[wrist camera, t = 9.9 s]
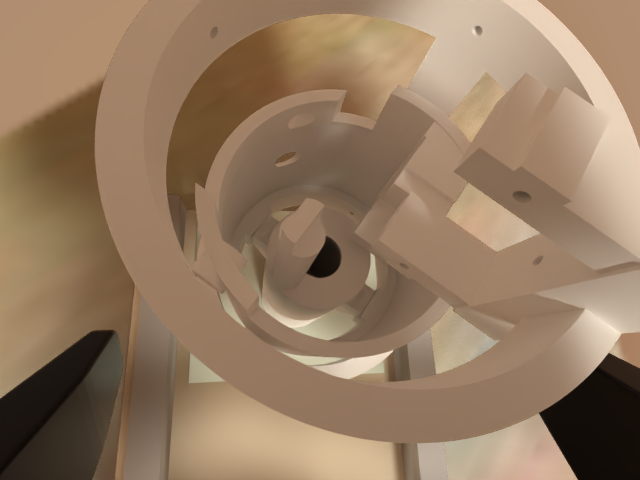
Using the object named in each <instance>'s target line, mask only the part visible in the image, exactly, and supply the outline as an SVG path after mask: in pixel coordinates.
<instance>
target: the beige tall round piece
mask: <svg viewBox="0 0 640 480" xmlns="http://www.w3.org/2000/svg"><path fill="white" fill-rule="evenodd" d="M320 14H356V15H365V16H372V17H377V18H382V19H387V20H391V21H394V22H398V23H401V24H404V25H407V26H410V27H413V28H416V29H418V30H421V31H423V32H425V33H427V34H430V35H432V36H434V37H436V39H435V41H434V42H433V44H432V46H431V48H430V49H429V51H428V53H427V55H426V56H425V58H424V60H423V62H422V63H421V65H420V67H419V69H418V70H417V72H416V74H415V76H414V77H413V79H412V81H411V83H410V84H409V86H408V88H405V87H403V86H401V85H398V86H397V87H396V88H395V89H394V91H393V92H392V93H391V95H390V97H389V99H388V101H387V103H386V105H385V106H384V108H383V110H382V112H381V114H380V116H379V118H378V120H377V121H375V120H372V119H370V118H367V117H363V116H360V115H356V114H351V113H345V112H340V110H341V107H342V104H343V102H344V99H345V96H346V93H347V90H338V89H324V90H312V91H306V92H301V93H297V94H293V95H289V96H286V97H283V98H281V99H278V100H276V101H274V102H272V103H270V104H268V105H266V106H264V107H262V108H261V109H259V110H257V111H256V112H254V113H253V114H252V115H250V116H249V117H248V118H247V119H245V120H244V121H243V122H242V123H241V124H240V125H239V126H238V127H237V128H236V129H235V130H234V131H233V132H232V133H231V134H230V136H229V137H228V138H227V139H226V141H225V142H224V144H223V145H222V147H221V148H220V150H219V152H218V153H217V155H216V157H215V159H214V161H213V164H212V166H211V169H210V171H209V174H208V177H207V181H206V185H205V189H204V188H203V187H201V186H200V185H199V184H197V183H195V205H196V214H197V220H198V225H199V229H200V233H201V239H200V243H199V247H198V253H197V260H196V261H195V262H194V263H193V265H192V266H191V267H190V265H189V264H188V262H187V260H186V258H185V256H184V253H183V251H182V249H181V247H180V244H179V242H178V239H177V236H176V233H175V230H174V227H173V223H172V219H171V215H170V210H169V205H168V198H167V188H166V164H167V154H168V148H169V142H170V138H171V134H172V130H173V127H174V124H175V121H176V118H177V116H178V113H179V111H180V109H181V106H182V104H183V102H184V101H185V99H186V97H187V95H188V93H189V92H190V90H191V89H192V87H193V86H194V84H195V83H196V81H197V80H198V79H199V77H200V76H201V75H202V74H203V72H204V71H205V70H206V69H207V68H208V67H209V66H210V65H211V64H212V63H213V62H214V61H215V60H216V59H217V58H218V57H219V56H220V55H221V54H223V53H224V52H225V51H226V50H228V49H229V48H230V47H232V46H233V45H235V44H236V43H238V42H239V41H241V40H242V39H244V38H246V37H247V36H249V35H251V34H253V33H255V32H257V31H259V30H261V29H264V28H266V27H268V26H271V25H274V24H277V23H280V22H283V21H286V20H290V19H294V18H299V17H304V16H311V15H320ZM485 72H487V73H488V74H489V75H490V76H491V77H492V78H493V79H494V80H495V81H496V82H497V83H498V84H499V85H500V86H501V87H502V88H503V89H504V91H505V92H506V94H505V95H504V96H503V97H502V98H501V99H500V100H499V101H498V102H497V103H496V105H495V107H494V108H493V110H492V111H491V113H490V114H489V116H488V118H487V119H486V121H485V122H484V124H483V125H482V127H481V129H480V130H479V132H478V133H477V135H476V136H475V138H474V140H473V141H472V143H470V141H469V140H468V139H467V137H466V136H465V135H464V134H463V132H462V131H461V130H460V129H459V128H458V127H457V125H456V124H455V123H454V122H453V121H452V120H451V119H450V118H449V116H450V115H451V114H452V113H453V111H454V110H455V109H456V108H457V107H458V105H459V104H460V103H461V102H462V100H463V99H464V98H465V97H466V95H467V94H468V93H469V92H470V91H471V89H472V88H473V87H474V86H475V84H476V83H477V82H478V81H479V80H480V78H481V77H482V76H483V75H484V73H485ZM292 152H296V154H295V155H294V156H293V157H291V158H290V159H288V160H286V161H283V162H280V163H276V161H277V160H278V159H279V158H280V157H281V156H283V155H285V154H288V153H292ZM275 163H276V164H275ZM95 165H96V175H97V182H98V188H99V194H100V198H101V203H102V207H103V211H104V214H105V218H106V221H107V224H108V227H109V230H110V233H111V236H112V238H113V241H114V243H115V246H116V248H117V250H118V253H119V255H120V257H121V259H122V261H123V263H124V265H125V267H126V269H127V271H128V273H129V275H130V276H131V278H132V280H133V282H134V283H135V285H136V287H137V288H138V290H139V291H140V293H141V294H142V296H143V297H144V299H145V300H146V302H147V303H148V305H149V306H150V307H151V309H152V310H153V311H154V313H155V314H156V315H157V317H158V318H159V319H160V320H161V321H162V323H163V324H164V325H165V326H166V327H167V329H168V330H169V331H170V332H171V333H172V334H173V335H174V336H175V337H176V339H177V340H178V341H179V342H180V343H181V344H182V345H183V346H184V347H185V348H186V349H187V350H188V351H189V352H191V353H192V354H193V355H194V356H195V357H196V358H197V359H198V360H199V361H201V362H202V363H203V364H204V365H205V366H206V367H208V368H209V369H210V370H211V371H213V372H214V373H215V374H217V375H218V376H219V377H221V378H222V379H223V380H225V381H226V382H227V383H229V384H230V385H232V386H233V387H235V388H236V389H238V390H239V391H241V392H242V393H244V394H246V395H247V396H249V397H251V398H252V399H254V400H256V401H258V402H259V403H261V404H263V405H265V406H267V407H269V408H271V409H273V410H275V411H277V412H279V413H281V414H283V415H286V416H288V417H290V418H293V419H295V420H298V421H300V422H303V423H305V424H308V425H311V426H314V427H317V428H320V429H323V430H327V431H330V432H334V433H337V434H341V435H346V436H350V437H355V438H360V439H366V440H373V441H381V442H392V443H437V442H447V441H455V440H461V439H466V438H471V437H476V436H480V435H484V434H488V433H491V432H495V431H498V430H501V429H504V428H506V427H509V426H512V425H514V424H517V423H519V422H521V421H523V420H526V419H528V418H530V417H532V416H534V415H536V414H538V413H539V412H541V411H543V410H545V409H546V408H548V407H550V406H551V405H553V404H554V403H556V402H557V401H559V400H560V399H562V398H563V397H564V396H566V395H567V394H568V393H570V392H571V391H572V390H573V389H575V388H576V387H577V386H578V385H579V384H580V383H582V382H583V381H584V380H585V379H586V378H587V377H588V376H589V375H590V374H591V373H592V372H593V371H594V370H595V369H596V367H597V366H598V365H599V364H600V363H601V362H602V361H603V359H604V358H605V357H606V356H607V354H608V353H609V352H610V350H611V349H612V347H613V346H614V344H615V343H616V341H617V340H618V338H619V337H620V335H621V333H633V332H640V149H639V146H638V143H637V140H636V137H635V134H634V132H633V129H632V126H631V124H630V122H629V119H628V117H627V115H626V113H625V110H624V108H623V106H622V104H621V102H620V101H619V99H618V97H617V95H616V93H615V91H614V90H613V88H612V86H611V84H610V83H609V81H608V80H607V78H606V77H605V75H604V73H603V72H602V70H601V69H600V67H599V66H598V65H597V64H596V62H595V61H594V59H593V58H592V57H591V55H590V54H589V53H588V51H587V50H586V49H585V48H584V46H583V45H582V44H581V43H580V42H579V41H578V39H577V38H576V37H575V36H574V35H573V34H572V33H571V32H570V31H569V30H568V29H567V27H566V26H565V25H564V24H563V23H562V22H561V21H560V20H559V19H557V18H556V17H555V16H554V15H553V14H552V13H551V12H550V11H549V10H548V9H547V8H545V7H544V6H543V5H542V4H541V3H540V2H538V1H537V0H150V1H149V2H148V3H147V4H146V5H145V6H144V8H143V9H142V10H141V11H140V12H139V14H138V15H137V16H136V18H135V19H134V21H133V22H132V24H131V25H130V26H129V28H128V30H127V31H126V33H125V34H124V36H123V38H122V40H121V42H120V44H119V45H118V47H117V49H116V52H115V54H114V56H113V58H112V60H111V63H110V65H109V68H108V71H107V74H106V77H105V80H104V83H103V87H102V90H101V95H100V99H99V104H98V110H97V117H96V127H95ZM468 183H470V184H472V185H473V186H474V187H476V188H477V189H479V190H480V191H482V192H483V193H484V194H486V195H487V196H489V197H490V198H492V199H493V200H494V201H496V202H497V203H499V204H500V205H502V206H503V207H504V208H506V209H507V210H509V211H510V212H512V213H513V214H514V215H516V216H517V217H519V218H520V219H522V220H523V221H524V222H526V223H527V224H529V225H530V226H532V227H533V228H534V229H536V230H537V231H539V232H540V233H541V234H538V235H536V236H534V237H531V238H529V239H527V240H524V241H522V242H519V243H517V244H515V245H512V246H510V247H508V248H505V249H503V250H500V251H498V252H496V251H494V250H493V249H491V248H490V247H489V246H487V245H486V244H484V243H483V242H481V241H480V240H479V239H477V238H476V237H474V236H473V235H472V234H470V233H469V232H467V231H466V230H465V229H463V228H462V227H460V226H459V225H457V224H456V223H455V222H453V221H452V220H450V219H449V218H448V217H446V215H447V213H448V212H449V210H450V208H451V207H452V205H453V204H454V203H455V202H456V201H457V199H458V198H459V196H460V194H461V193H462V191H463V190H464V188H465V186H466V185H467V184H468ZM293 206H300V207H299V208H298V209H297V210H296V211H294V212H292V213H291V214H289V215H287V216H286V217H285V218H284V219H282V220H281V221H280V222H279V221H278V220H276V219H275V218H274V217H272V216H271V215H272V214H274V213H275V212H278V211H280V210H282V209H285V208H289V207H293ZM245 243H247V244H248V245H249V246H252V244H254V245H255V246H256V247H257V249H258V250H259V251H260V252H261V253H262V255H263V256H264V257H265V258H266V262H265V271H264V277H263V288H262V302H263V306H264V308H265V311H264V310H263V309H262V308H261V307H260V306H259V294H258V293H257V292H256V291H255V290H254V289H253V288H252V287H251V286H250V284H249V283H248V282H247V281H246V280H245V278H244V277H243V276H242V274H241V273H240V272H241V270H242V269H243V268H244V267H245V265H246V264H247V263H248V262H247V260H246V259H245V258H244V257H243V255H242V254H241V253H242V250H243V247H244V245H245ZM370 253H371V254H373V255H374V256H375V259H376V264H377V273H378V278H377V288H376V290H373V289H372V288H370V287H369V286H368V285H366V284H365V282H366V280H367V277H368V275H369V271H370V265H371V255H370ZM307 271H308V272H310V273H311V274H312V275H313V276H314V277H313V276H310V275H308V274H307V273H306V272H307ZM195 275H196V276H197V277H196V276H195ZM224 291H226V293H227V295H228V297H229V299H230V301H231V304H232V306H233V308H234V310H235V312H236V314H237V315H238V317H239V318H240V320H241V321H242V323H243V324H244V325H245V326H246V327H243V326H242V325H241V324H239V323H238V322H237V321H236V320H235V319H234V318H232V317H231V316H230V315H229V314H228V313H227V312H226V311H225V310H224V307H223V304H222V302H221V298H220V294H219V292H220V293H221V294H223V293H224ZM450 305H451V306H452V307H454V309H453V311H454V312H456V313H457V314H458V315H460V316H461V317H463V318H464V319H465V320H467V321H468V322H470V323H471V324H472V325H474V326H475V327H477V328H478V329H479V330H481V331H482V332H484V333H485V334H486V335H488V336H489V337H491V338H492V339H493V340H501V341H499V342H498V343H497V344H496V345H494V346H493V347H492V348H491V349H489V350H488V351H486V352H485V353H483V354H482V355H480V356H478V357H477V358H475V359H473V360H471V361H470V362H468V363H466V364H463V365H461V366H459V367H457V368H454V369H452V370H449V371H446V372H443V373H440V374H437V375H433V376H429V377H425V378H420V379H414V380H407V381H395V382H381V383H372V382H362V381H355V380H350V378H353V377H356V376H358V375H360V374H362V373H364V372H366V371H368V370H370V369H371V368H373V367H375V366H376V365H377V364H379V363H380V362H382V361H383V360H384V359H385V358H386V357H387V356H389V355H390V354H391V353H392V352H393V351H394V350H395V349H397V348H400V347H402V346H404V345H406V344H408V343H410V342H412V341H413V340H415V339H416V338H418V337H420V336H421V335H422V334H424V333H425V332H426V331H428V330H429V329H430V328H431V327H432V326H433V325H434V324H435V323H436V322H437V321H438V320H439V319H440V318H441V317H442V316H443V315H444V314H445V312H446V311H447V310H448V308H449V307H450ZM334 309H335V310H338V311H341V312H343V313H346V314H348V315H351V316H354V317H353V319H352V321H354V322H355V323H357V324H356V325H355V326H354V327H353V328H352V329H350V330H349V331H348V332H346V333H344V334H343V335H341V336H339V337H336V338H334V339H331V340H323V339H319V338H315V337H311V336H308V335H305V334H303V333H300V332H298V331H296V330H293V329H291V328H297V327H302V326H305V325H308V324H309V323H311V322H313V321H314V320H316V319H318V318H320V317H322V316H324V315H325V314H327V313H328V312H330V311H332V310H334ZM289 327H291V328H289ZM276 349H277V350H276ZM278 350H279V351H278ZM280 351H282V352H285V353H288V354H293V355H299V356H313V357H334V358H343V359H341V360H338V361H335V362H331V363H327V364H321V365H305V364H303V363H301V362H299V361H297V360H295V359H293V358H291V357H289V356H287V355H285V354H283V353H282V352H280Z"/></svg>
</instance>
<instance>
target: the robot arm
mask: <svg viewBox="0 0 640 480" xmlns="http://www.w3.org/2000/svg"><path fill="white" fill-rule="evenodd" d="M122 370H123V359H122V354H121V348H120V343H119V338H118V335H117V333H116V331H114V330H96V331H92V332H90V333H88V334H87V335H86V336H84V337H83V338H82V339H80V340H79V341H77V342H76V343H75V344H73V345H72V346H71V347H69V348H68V349H67V350H65V351H64V352H63V353H61V354H60V355H59V356H57V357H56V358H54V359H53V360H52V361H50V362H49V363H48V364H46V365H45V366H44V367H42V368H41V369H40V370H38V371H37V372H36V373H34V374H33V375H31V376H30V377H29V378H27V379H26V380H25V381H23V382H22V383H21V384H19V385H18V386H17V387H15V388H14V389H13V390H11V391H10V392H8V393H7V394H6V395H4V396H3V397H2V398H0V480H92V478H93V476H94V473H95V470H96V467H97V465H98V462H99V459H100V456H101V453H102V450H103V447H104V443H105V439H106V436H107V432H108V428H109V423H110V419H111V415H112V411H113V407H114V403H115V399H116V395H117V391H118V387H119V383H120V379H121V375H122ZM539 414H540V416H541V418H542V420H543V421H544V423H545V425H546V427H547V428H548V430H549V432H550V433H551V435H552V437H553V438H554V440H555V442H556V443H557V445H558V447H559V449H560V450H561V452H562V454H563V455H564V457H565V459H566V460H567V462H568V464H569V465H570V467H571V469H572V471H573V472H574V474H575V476H576V477H577V479H578V480H640V368H638V367H636V366H633V365H632V364H630V363H628V362H626V361H624V360H622V359H620V358H618V357H616V356H614V355H612V354H610V353H608V354H607V356H606V357H605V358H604V359H603V361H602V362H601V363H600V364H599V365H598V366H597V367H596V369H595V370H594V371H593V372H592V373H591V374H590V375H589V376H588V377H587V378H586V379H585V380H584V381H583V382H582V383H580V384H579V385H578V386H577V387H576V388H575V389H573V390H572V391H571V392H570V393H568V394H567V395H566V396H564V397H563V398H562V399H560V400H559V401H557V402H556V403H554V404H553V405H551V406H550V407H548V408H546V409H545V410H543V411H541V412H539Z"/></svg>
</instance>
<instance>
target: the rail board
mask: <svg viewBox="0 0 640 480" xmlns="http://www.w3.org/2000/svg"><path fill="white" fill-rule="evenodd" d="M167 198H168V205H169V210H170V215H171V219H172V223H173V227H174V230H175V233H176V236H177V239H178V242H179V244H180V247H181V249H182V251H183V253H184V256H185V258H186V260H187V262H188V264H189V265H190V267H191V266H192V265H193V263H194V262H195V261H196V260H197V253H198V247H199V243H200V239H201V233H200V229H199V225H198V220H197V214H196V210H186V208H185V205H184V203H183V201H182V198H181V196H180V195H171V194H167ZM292 212H294V211H278V212H275V213H274V214H272V215H271V216H272V217H274V218H275V219H276V220H278V221H279V222H280V221H281V220H282V219H284V218H285V217H286V216H287V215H289V214H291V213H292ZM241 254H242V255H243V257H244V258H245V259H246V260H247V262H248V263H247V264H246V265H245V267H244V268H243V269H242V270H241V272H240V273H241V274H242V276H243V277H244V278H245V280H246V281H247V282H248V283H249V284H250V286H251V287H252V288H253V289H254V290H255V291H256V292H257V293H258V294H259V306H260V307H261V308H262V309H263V310H264V311H265V308H264V306H263V302H262V288H263V277H264V271H265V262H266V258H265V257H264V256H263V255H262V253H261V252H260V251H259V250H258V249H257V247H256V246H255V245H254V244H252V246H249V245H248V244H247V243H245V245H244V247H243V250H242V253H241ZM370 255H371V265H370V271H369V275H368V277H367V280H366V282H365V284H366V285H368V286H369V287H370V288H372V289H373V290H376V288H377V278H378V273H377V264H376V259H375V256H374V255H373V254H371V253H370ZM306 273H307V274H308V275H310V276H313V275H312V274H311V273H310V272H308V271H307V272H306ZM195 276H196V275H195ZM196 277H197V276H196ZM313 277H314V276H313ZM219 294H220V298H221V302H222V304H223V307H224V310H225V311H226V312H227V313H228V314H229V315H230V316H231V317H232V318H234V319H235V320H236V321H237V322H238V323H239V324H241V325H242V326H243V327H246V326H245V325H244V324H243V323H242V321H241V320H240V318H239V317H238V315H237V314H236V312H235V310H234V308H233V306H232V304H231V301H230V299H229V297H228V295H227V293H226V291H224V293H223V294H221V293H220V292H219ZM353 317H354V316H351V315H348V314H346V313H343V312H341V311H338V310H335V309H334V310H332V311H330V312H328V313H327V314H325V315H324V316H322V317H320V318H318V319H316V320H314V321H313V322H311V323H309V324H308V325H305V326H302V327H297V328H291V327H289V328H291V329H293V330H296V331H298V332H300V333H303V334H305V335H308V336H311V337H315V338H319V339H323V340H331V339H334V338H336V337H339V336H341V335H343V334H344V333H346V332H348V331H349V330H350V329H352V328H353V327H354V326H355V325H356V324H357V323H355V322H354V321H352V319H353ZM276 350H277V349H276ZM278 351H279V350H278ZM280 352H282V351H280ZM282 353H283V354H285V355H287V356H289V357H291V358H293V359H295V360H297V361H299V362H301V363H303V364H305V365H321V364H327V363H331V362H335V361H338V360H341V359H343V358H334V357H313V356H299V355H293V354H288V353H285V352H282ZM433 375H436V370H435V362H434V354H433V345H432V337H431V329H429V330H428V331H426V332H425V333H424V334H422V335H421V336H420V337H418V338H416V339H415V340H413V341H412V342H410V343H408V344H406V345H404V346H402V347H400V348H397V349H395V350H394V351H393V352H392V353H391V354H390V355H389V356H387V357H386V358H385V359H384V360H383V361H382V362H380V363H379V364H377V365H376V366H375V367H373V368H371V369H370V370H368V371H366V372H364V373H362V374H360V375H358V376H356V377H353V378H350V380H355V381H362V382H372V383H381V382H395V381H407V380H414V379H420V378H425V377H429V376H433ZM115 480H449V479H448V471H447V462H446V454H445V446H444V442H437V443H392V442H381V441H373V440H366V439H360V438H355V437H350V436H346V435H341V434H337V433H334V432H330V431H327V430H323V429H320V428H317V427H314V426H311V425H308V424H305V423H303V422H300V421H298V420H295V419H293V418H290V417H288V416H286V415H283V414H281V413H279V412H277V411H275V410H273V409H271V408H269V407H267V406H265V405H263V404H261V403H259V402H258V401H256V400H254V399H252V398H251V397H249V396H247V395H246V394H244V393H242V392H241V391H239V390H238V389H236V388H235V387H233V386H232V385H230V384H229V383H227V382H226V381H225V380H223V379H222V378H221V377H219V376H218V375H217V374H215V373H214V372H213V371H211V370H210V369H209V368H208V367H206V366H205V365H204V364H203V363H202V362H201V361H199V360H198V359H197V358H196V357H195V356H194V355H193V354H192V353H191V352H189V351H188V350H187V349H186V348H185V347H184V346H183V345H182V344H181V343H180V342H179V341H178V340H177V339H176V337H175V336H174V335H173V334H172V333H171V332H170V331H169V330H168V329H167V327H166V326H165V325H164V324H163V323H162V321H161V320H160V319H159V318H158V317H157V315H156V314H155V313H154V311H153V310H152V309H151V307H150V306H149V305H148V303H147V302H146V300H145V299H144V297H143V296H142V294H141V293H140V291H139V290H138V288H137V287H136V285H135V287H134V297H133V307H132V316H131V326H130V336H129V345H128V355H127V364H126V374H125V384H124V393H123V403H122V413H121V422H120V432H119V442H118V451H117V461H116V471H115Z"/></svg>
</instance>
